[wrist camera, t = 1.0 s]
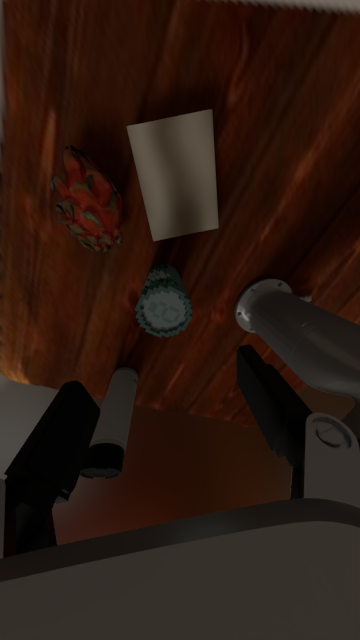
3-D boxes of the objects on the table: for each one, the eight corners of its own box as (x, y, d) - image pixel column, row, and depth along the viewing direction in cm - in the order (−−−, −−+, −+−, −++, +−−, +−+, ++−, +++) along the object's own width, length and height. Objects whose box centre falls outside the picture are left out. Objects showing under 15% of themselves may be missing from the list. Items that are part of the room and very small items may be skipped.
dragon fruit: (109, 256, 29) (92, 175, 25) (143, 251, 25) (129, 152, 21) (58, 256, 23) (23, 147, 19) (92, 250, 18) (56, 104, 14)
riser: (204, 129, 22) (212, 108, 18) (211, 228, 27) (218, 227, 24) (132, 144, 22) (126, 126, 18) (154, 240, 27) (153, 241, 24)
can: (155, 257, 29) (150, 276, 16) (184, 273, 31) (201, 302, 17) (142, 286, 31) (127, 325, 18) (170, 300, 33) (175, 343, 20)
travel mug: (141, 367, 41) (124, 468, 23) (135, 385, 43) (117, 487, 26) (115, 363, 39) (77, 467, 22) (111, 381, 42) (74, 487, 24)
